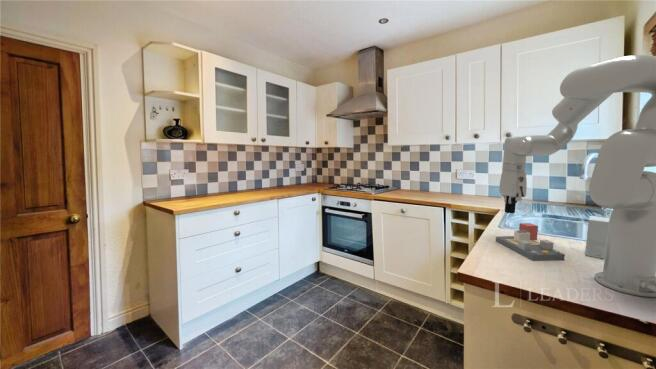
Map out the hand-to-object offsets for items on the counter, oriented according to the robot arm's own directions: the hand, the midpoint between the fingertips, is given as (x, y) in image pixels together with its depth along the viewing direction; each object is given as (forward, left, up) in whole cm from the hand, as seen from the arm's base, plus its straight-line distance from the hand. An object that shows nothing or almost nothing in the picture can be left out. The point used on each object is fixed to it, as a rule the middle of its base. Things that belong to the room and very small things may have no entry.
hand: (509, 212), depth 112 cm
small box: (-17, -21, -12) cm, 29 cm away
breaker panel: (-11, 0, -12) cm, 16 cm away
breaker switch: (-8, 0, -10) cm, 12 cm away
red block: (+2, -10, -12) cm, 16 cm away
